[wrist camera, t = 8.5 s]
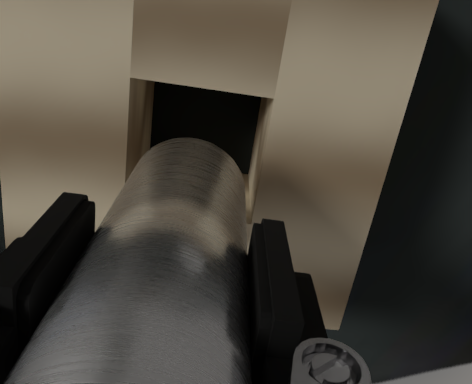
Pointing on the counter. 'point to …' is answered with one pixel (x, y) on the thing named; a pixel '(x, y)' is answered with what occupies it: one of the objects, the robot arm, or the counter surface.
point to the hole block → (222, 79)
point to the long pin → (155, 282)
